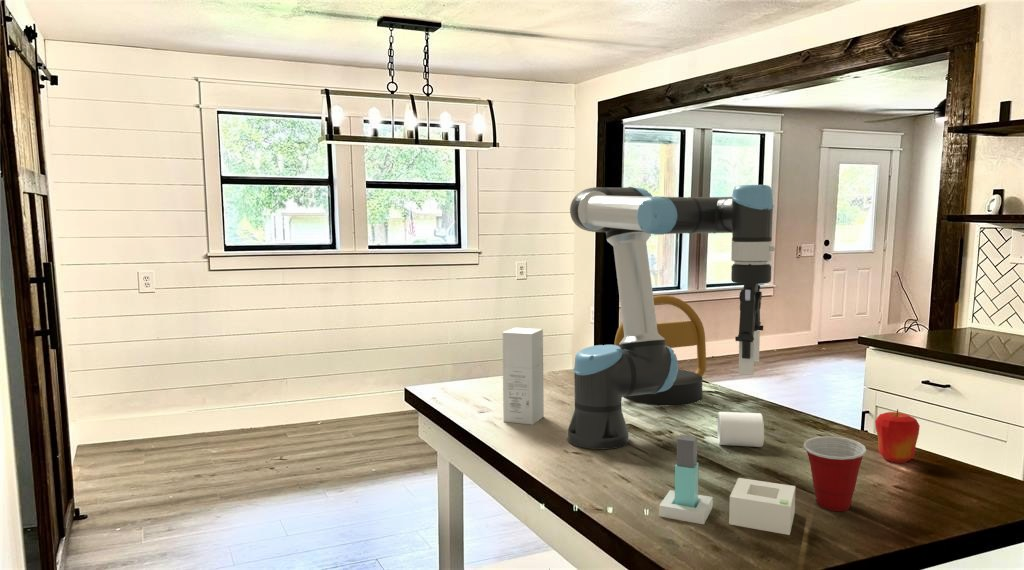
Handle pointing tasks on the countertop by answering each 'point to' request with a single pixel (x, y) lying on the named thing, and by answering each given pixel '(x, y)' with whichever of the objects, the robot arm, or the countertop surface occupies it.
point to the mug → (740, 429)
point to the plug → (686, 472)
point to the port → (762, 505)
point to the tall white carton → (523, 375)
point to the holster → (686, 509)
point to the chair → (675, 335)
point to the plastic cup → (834, 470)
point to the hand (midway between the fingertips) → (749, 367)
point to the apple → (897, 436)
